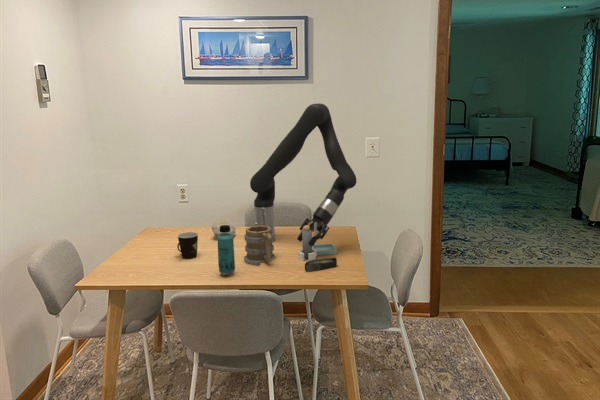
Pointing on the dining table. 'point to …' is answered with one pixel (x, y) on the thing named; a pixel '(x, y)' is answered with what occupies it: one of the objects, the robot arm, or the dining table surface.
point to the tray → (324, 249)
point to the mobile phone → (320, 264)
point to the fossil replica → (217, 228)
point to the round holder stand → (310, 256)
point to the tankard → (259, 245)
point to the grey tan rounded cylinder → (306, 241)
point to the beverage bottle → (226, 251)
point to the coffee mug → (188, 245)
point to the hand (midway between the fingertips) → (304, 242)
